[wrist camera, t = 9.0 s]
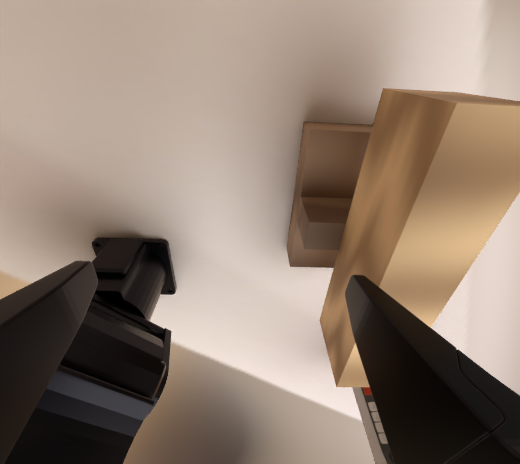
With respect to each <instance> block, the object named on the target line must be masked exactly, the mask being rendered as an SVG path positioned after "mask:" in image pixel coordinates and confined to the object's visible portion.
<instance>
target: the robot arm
mask: <svg viewBox="0 0 520 464" xmlns="http://www.w3.org/2000/svg"><path fill="white" fill-rule="evenodd" d="M98 243H99V244H100V245H99V244H98ZM161 245H163V246H164V247H163V246H161ZM92 247H93V249H94V252H95V254H96V258H95V259H94V260H93V261H92V263H91V262H90V261H75V262H73V263H71V264H69V265H67V266H65V267H63V268H61V269H59V270H57V271H56V272H54V273H52V274H50V275H48V276H46V277H44V278H42V279H40V280H38V281H36V282H34V283H32V284H30V285H28V286H26V287H24V288H22V289H20V290H18V291H16V292H14V293H13V294H10V295H8V296H6V297H4V298H2V299H1V300H0V464H123V462H124V459H125V457H126V454H127V452H128V450H129V448H130V446H131V444H132V441H133V439H134V437H135V435H136V433H137V431H138V429H139V428H140V426H141V424H142V422H143V420H144V419H145V418H146V417H147V415H148V414H149V413H150V412H151V411H152V409H153V407H154V406H155V404H156V403H157V401H158V400H159V398H160V395H161V393H162V391H163V388H164V386H165V384H166V380H167V376H168V369H169V356H170V342H171V331H170V330H168V329H166V328H165V329H163V328H162V327H160V326H158V325H156V324H154V323H152V322H150V319H151V316H152V314H153V311H154V309H155V306H156V304H157V301H158V299H159V297H160V294H168V295H172V294H175V292H176V283H175V277H174V272H173V266H172V261H171V255H170V250H169V244H168V242H167V241H165V240H152V239H131V238H96V239H95V240H94V241H93V242H92ZM170 289H171V290H170ZM345 299H346V303H347V308H348V313H349V318H350V323H351V328H352V332H353V336H354V340H355V343H356V346H357V349H358V352H359V355H360V359H361V362H362V365H363V368H364V371H365V374H366V377H367V380H368V383H369V386H370V389H371V393H372V396H373V399H374V402H375V405H376V408H377V411H378V414H379V417H380V420H381V423H382V426H383V430H384V433H385V436H386V439H387V442H388V445H389V448H390V451H391V454H392V457H393V460H394V464H520V396H519V395H518V394H517V393H515V392H514V391H512V390H511V389H510V388H508V387H507V386H505V385H504V384H503V383H501V382H500V381H499V380H497V379H496V378H494V377H493V376H492V375H490V374H489V373H488V372H486V371H485V370H484V369H483V368H481V367H480V366H479V365H477V364H476V363H475V362H473V361H472V360H471V359H470V358H468V357H467V356H466V355H465V354H463V353H462V352H461V351H459V350H456V348H455V347H454V346H453V345H452V344H450V343H449V342H448V341H447V340H445V339H444V338H443V337H442V336H440V335H439V334H438V333H437V332H435V331H434V330H433V329H431V328H430V327H429V326H428V325H426V324H425V323H424V322H423V321H421V320H420V319H419V318H418V317H416V316H415V315H414V314H412V313H411V312H410V311H409V310H407V309H406V308H405V307H404V306H402V305H401V304H400V303H399V302H397V301H396V300H395V299H393V298H392V297H391V296H390V295H388V294H387V293H386V292H385V291H383V290H382V289H381V288H380V287H378V286H377V285H376V284H375V283H373V282H372V281H371V280H369V279H368V278H367V277H366V276H364V275H352V276H351V277H350V280H349V282H348V285H347V288H346V291H345Z"/></svg>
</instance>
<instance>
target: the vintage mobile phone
mask: <svg viewBox="0 0 520 464" xmlns="http://www.w3.org/2000/svg"><path fill="white" fill-rule="evenodd" d="M352 388H353V391H354V394H355V398H356V401H357V404H358V408H359V411H360V414H361V418H362V421H363V424H364V427H365V431H366V434H367V437H368V440H369V444H370V447H371V451H372V454H373V457H374V461H375V464H394V460H393V457H392V454H391V451H390V448H389V445H388V442H387V439H386V436H385V433H384V430H383V426H382V423H381V420H380V417H379V414H378V411H377V408H376V405H375V402H374V399H373V396H372V393H371V389H370V387H352Z"/></svg>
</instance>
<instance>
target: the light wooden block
mask: <svg viewBox="0 0 520 464" xmlns="http://www.w3.org/2000/svg"><path fill="white" fill-rule="evenodd" d="M519 192H520V101H513V100H505V99H499V98H492V97H485V96H478V95H472V94H465V93H456V92H438V91H420V90H403V89H385V88H383V90H382V94H381V98H380V101H379V105H378V109H377V112H376V116H375V120H374V123H373V127H372V131H371V134H370V138H369V142H368V145H367V149H366V152H365V156H364V160H363V163H362V167H361V171H360V174H359V178H358V182H357V185H356V189H355V193H354V196H353V200H352V204H351V207H350V211H349V215H348V218H347V222H346V226H345V229H344V233H343V237H342V240H341V244H340V247H339V251H338V255H337V258H336V262H335V266H334V269H333V273H332V277H331V280H330V284H329V288H328V291H327V295H326V299H325V302H324V306H323V310H322V313H321V317H320V324H321V328H322V332H323V336H324V339H325V343H326V347H327V351H328V355H329V359H330V363H331V367H332V371H333V375H334V379H335V383H336V387H370V386H369V383H368V380H367V377H366V374H365V371H364V368H363V365H362V362H361V359H360V355H359V352H358V349H357V346H356V343H355V340H354V336H353V332H352V328H351V323H350V318H349V313H348V308H347V303H346V299H345V291H346V288H347V285H348V282H349V280H350V277H351V276H352V275H364V276H366V277H367V278H368V279H369V280H371V281H372V282H373V283H375V284H376V285H377V286H378V287H380V288H381V289H382V290H383V291H385V292H386V293H387V294H388V295H390V296H391V297H392V298H393V299H395V300H396V301H397V302H399V303H400V304H401V305H402V306H404V307H405V308H406V309H407V310H409V311H410V312H411V313H412V314H414V315H415V316H416V317H418V318H419V319H420V320H421V321H423V322H424V323H425V324H426V325H428V326H429V327H430V328H431V326H432V325H433V323H434V322H435V320H436V319H437V317H438V315H439V314H440V312H441V311H442V309H443V308H444V306H445V305H446V303H447V302H448V300H449V299H450V297H451V296H452V294H453V293H454V291H455V290H456V288H457V287H458V285H459V284H460V282H461V280H462V279H463V277H464V276H465V274H466V273H467V271H468V270H469V268H470V267H471V265H472V264H473V262H474V261H475V259H476V258H477V256H478V254H479V253H480V251H481V250H482V249H483V247H484V245H485V244H486V242H487V241H488V239H489V238H490V236H491V235H492V233H493V232H494V230H495V229H496V227H497V226H498V224H499V222H500V221H501V219H502V218H503V217H504V215H505V213H506V212H507V210H508V209H509V207H510V206H511V204H512V203H513V201H514V200H515V198H516V197H517V195H518V194H519Z"/></svg>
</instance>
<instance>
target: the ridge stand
mask: <svg viewBox="0 0 520 464" xmlns="http://www.w3.org/2000/svg"><path fill="white" fill-rule="evenodd" d="M372 127H373V125H358V124H337V123H317V122H304V125H303V132H302V140H301V147H300V155H299V162H298V170H297V177H296V185H295V192H294V200H293V207H292V215H291V222H290V230H289V237H288V245H287V252H288V258H289V263H290V267H327V268H334V266H335V262H336V258H337V255H338V251H339V247H340V244H341V240H342V237H343V233H344V229H345V226H346V222H347V218H348V215H349V211H350V207H351V204H352V200H353V196H354V193H355V189H356V185H357V182H358V178H359V174H360V171H361V167H362V163H363V160H364V156H365V152H366V149H367V145H368V142H369V138H370V134H371V131H372Z"/></svg>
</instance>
